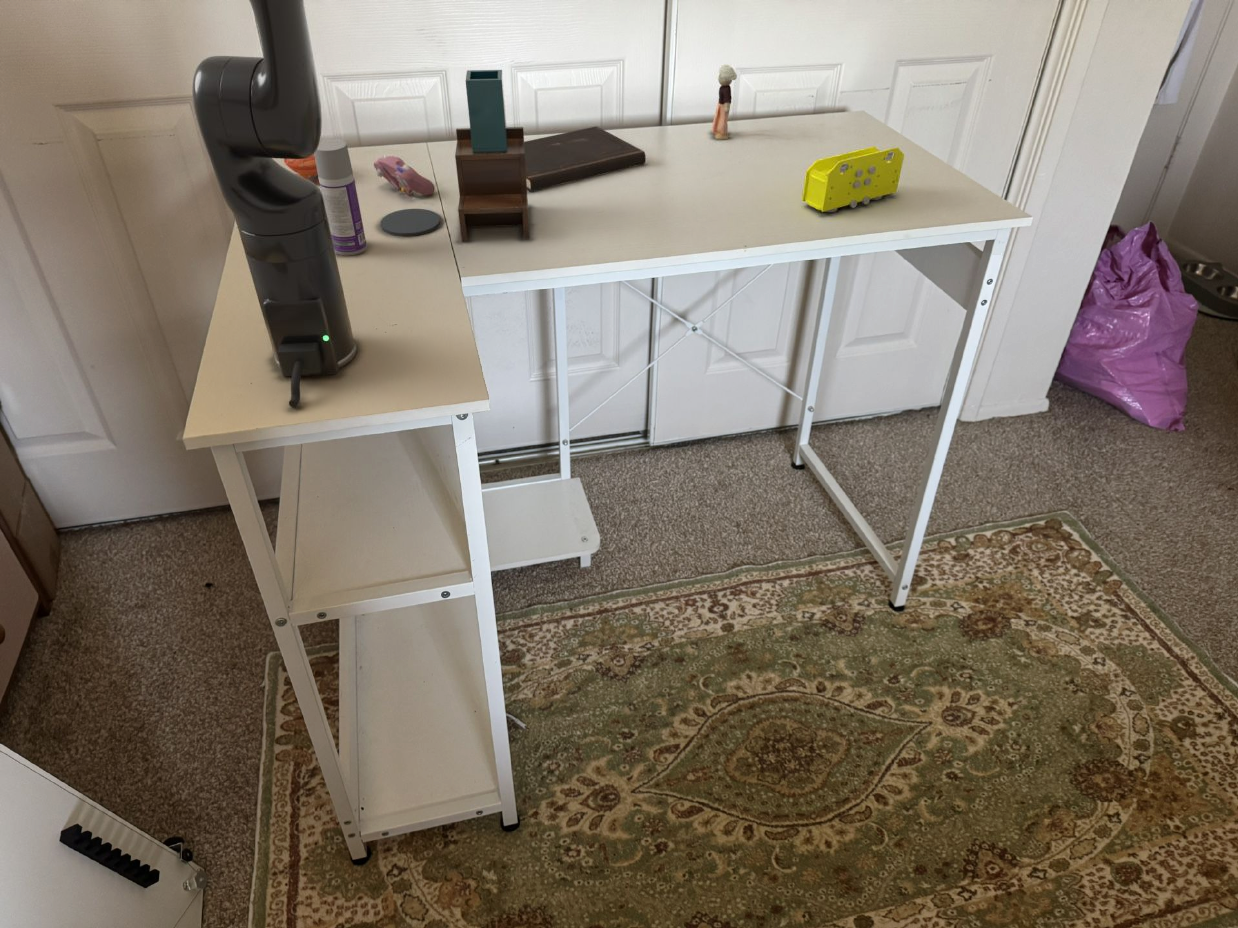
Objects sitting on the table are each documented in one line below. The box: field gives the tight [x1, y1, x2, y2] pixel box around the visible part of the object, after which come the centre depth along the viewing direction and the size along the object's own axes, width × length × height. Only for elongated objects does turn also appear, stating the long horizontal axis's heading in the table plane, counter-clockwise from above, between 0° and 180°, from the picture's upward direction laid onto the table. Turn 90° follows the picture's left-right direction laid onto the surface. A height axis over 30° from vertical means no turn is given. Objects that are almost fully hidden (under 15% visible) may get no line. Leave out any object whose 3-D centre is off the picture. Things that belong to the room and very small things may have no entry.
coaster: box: [380, 208, 442, 237], centre depth 133 cm, size 9×9×1 cm
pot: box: [283, 154, 318, 180], centre depth 145 cm, size 8×8×7 cm
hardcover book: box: [524, 125, 647, 192], centre depth 152 cm, size 16×23×2 cm
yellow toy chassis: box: [801, 146, 905, 213], centre depth 138 cm, size 16×6×8 cm, turn 121°
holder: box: [465, 69, 507, 153], centre depth 125 cm, size 5×5×10 cm
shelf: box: [454, 126, 530, 242], centre depth 129 cm, size 12×10×12 cm
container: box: [314, 138, 368, 256], centre depth 121 cm, size 5×5×15 cm
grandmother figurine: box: [710, 64, 738, 140], centre depth 160 cm, size 8×4×13 cm, turn 10°
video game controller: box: [373, 154, 436, 196], centre depth 141 cm, size 10×5×7 cm, turn 45°
